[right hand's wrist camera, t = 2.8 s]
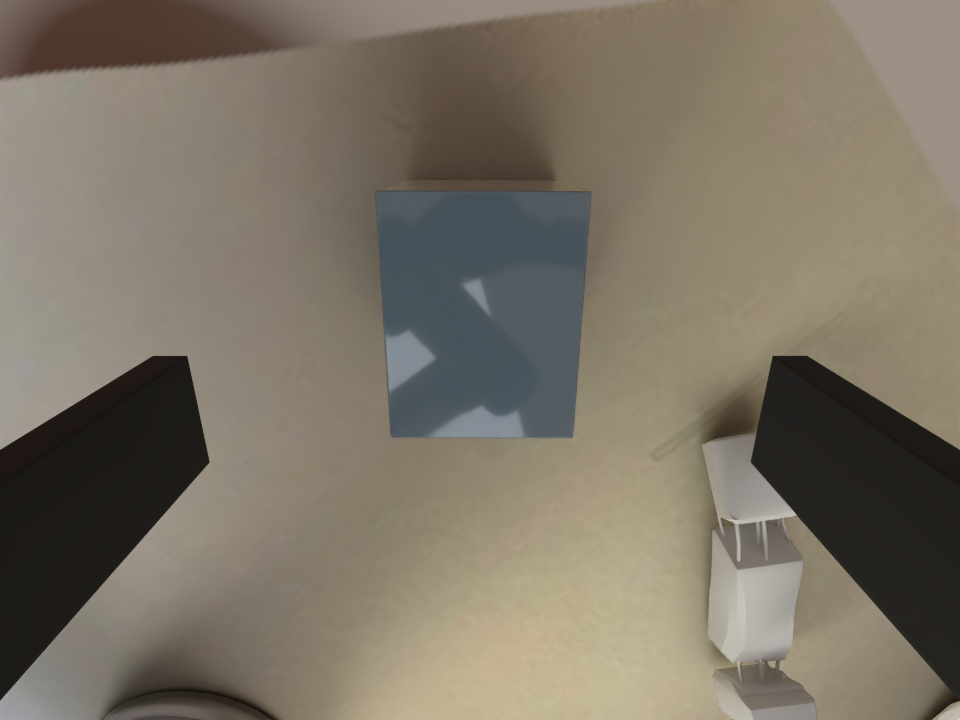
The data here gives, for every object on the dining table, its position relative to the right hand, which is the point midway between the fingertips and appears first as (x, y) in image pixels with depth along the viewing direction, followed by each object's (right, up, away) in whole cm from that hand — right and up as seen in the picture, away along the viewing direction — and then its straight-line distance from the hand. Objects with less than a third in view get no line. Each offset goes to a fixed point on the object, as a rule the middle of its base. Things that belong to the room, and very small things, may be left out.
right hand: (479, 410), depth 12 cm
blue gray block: (0, +5, +14) cm, 15 cm away
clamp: (+16, -11, +21) cm, 28 cm away
